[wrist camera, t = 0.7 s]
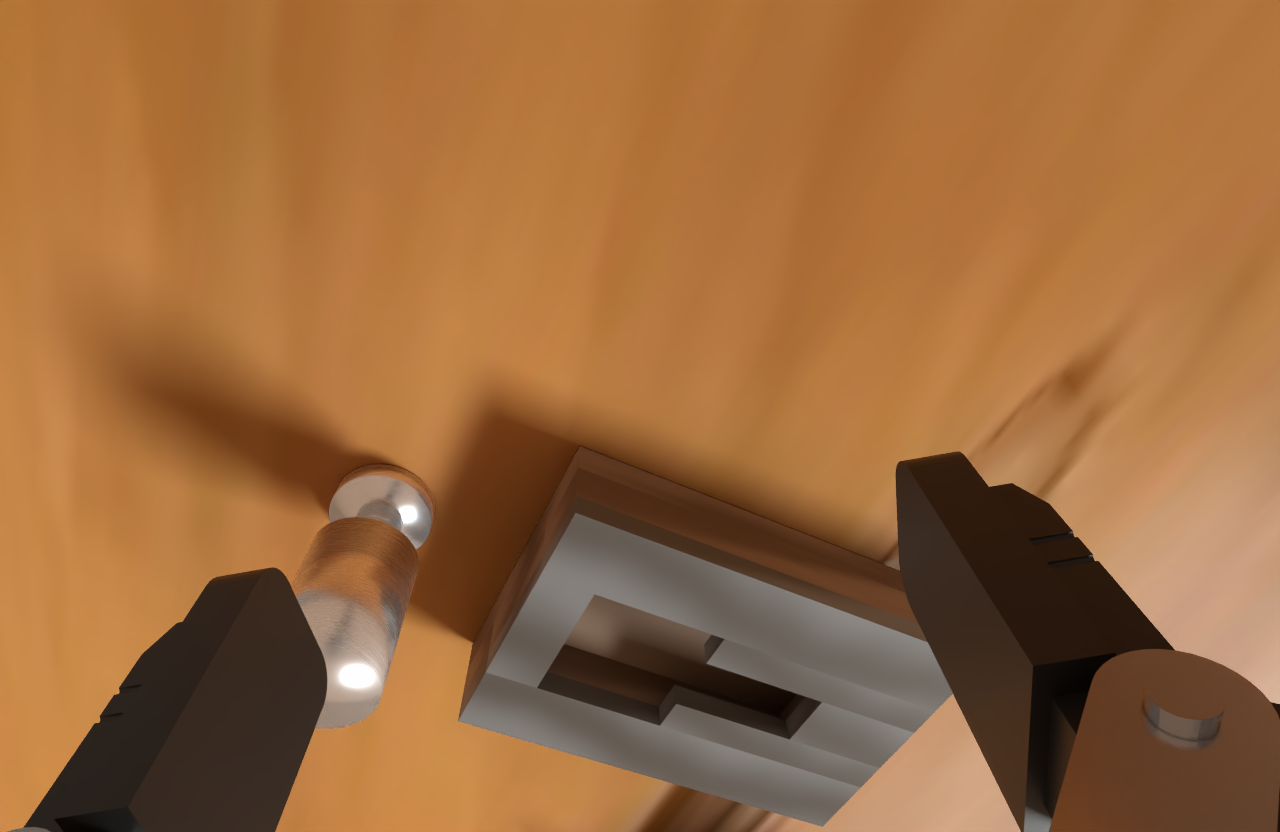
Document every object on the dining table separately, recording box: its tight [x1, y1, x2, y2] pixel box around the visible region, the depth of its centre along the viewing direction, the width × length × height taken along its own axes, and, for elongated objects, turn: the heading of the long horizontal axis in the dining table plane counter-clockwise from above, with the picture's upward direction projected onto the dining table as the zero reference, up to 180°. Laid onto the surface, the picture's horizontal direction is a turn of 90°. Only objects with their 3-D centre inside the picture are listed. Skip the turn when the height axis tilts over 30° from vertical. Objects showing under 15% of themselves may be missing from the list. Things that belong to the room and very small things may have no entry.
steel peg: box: [291, 464, 435, 728], centre depth 30 cm, size 4×4×9 cm
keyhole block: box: [458, 446, 953, 827], centre depth 36 cm, size 12×18×4 cm, turn 64°
